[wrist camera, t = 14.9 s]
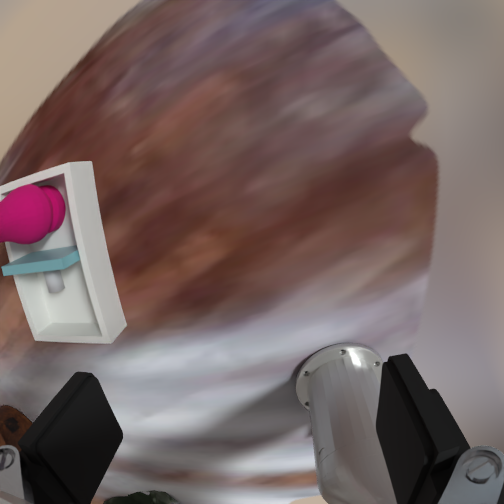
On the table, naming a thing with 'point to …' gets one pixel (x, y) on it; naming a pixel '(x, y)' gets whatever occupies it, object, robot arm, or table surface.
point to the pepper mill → (31, 213)
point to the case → (12, 426)
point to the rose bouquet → (143, 498)
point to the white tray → (76, 275)
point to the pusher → (45, 265)
